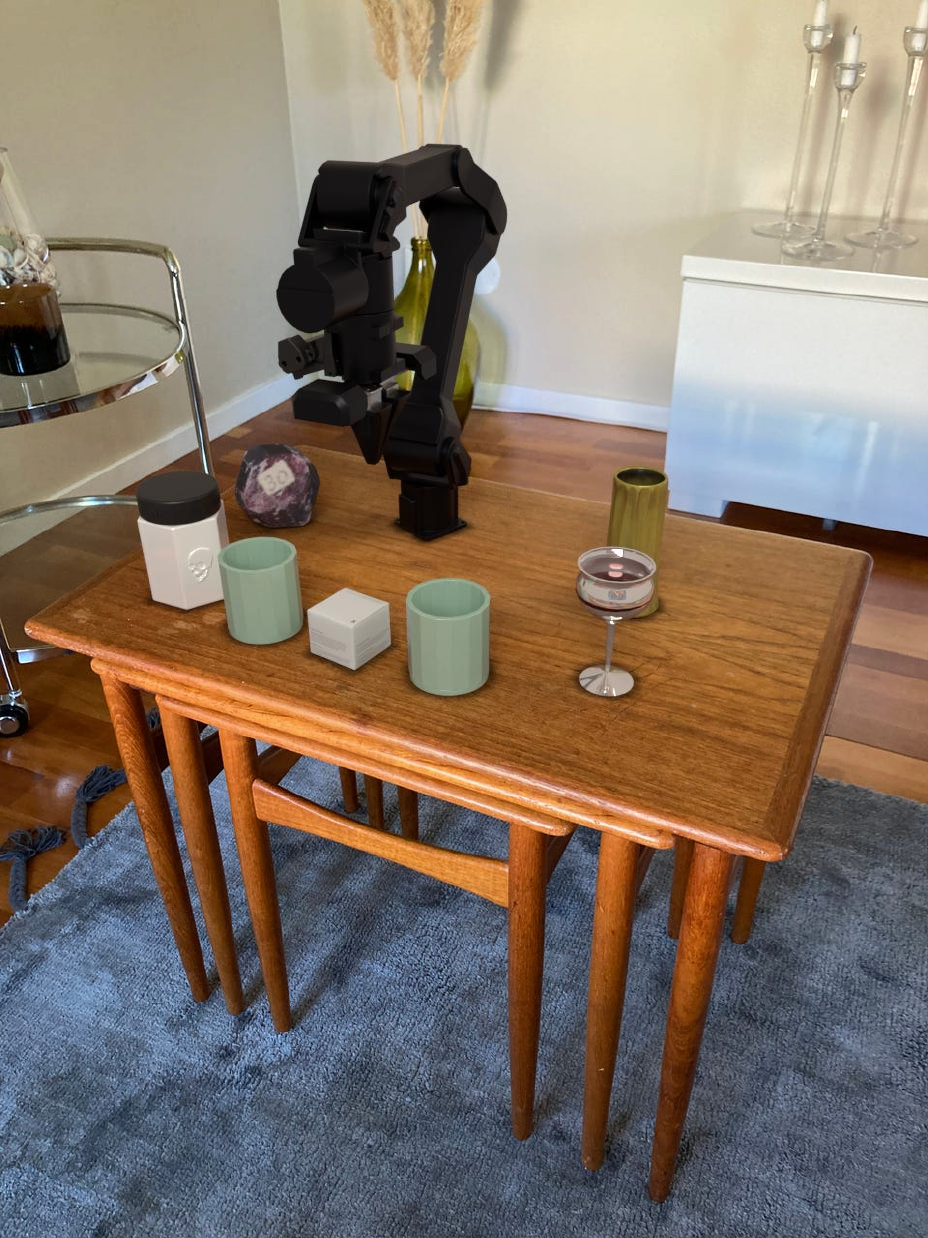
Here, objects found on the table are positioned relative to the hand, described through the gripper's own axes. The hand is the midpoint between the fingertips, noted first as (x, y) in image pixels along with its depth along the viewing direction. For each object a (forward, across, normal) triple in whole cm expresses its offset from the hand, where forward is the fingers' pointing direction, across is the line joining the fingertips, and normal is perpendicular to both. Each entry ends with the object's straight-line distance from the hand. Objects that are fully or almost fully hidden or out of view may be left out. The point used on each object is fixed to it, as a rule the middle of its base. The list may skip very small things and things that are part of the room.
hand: (372, 463), depth 99 cm
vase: (+13, -5, +27) cm, 30 cm away
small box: (+13, +14, +5) cm, 20 cm away
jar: (+13, +11, -16) cm, 24 cm away
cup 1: (+13, +14, -5) cm, 20 cm away
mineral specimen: (+13, -7, -18) cm, 23 cm away
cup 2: (+13, +14, +15) cm, 24 cm away
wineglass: (+13, +9, +29) cm, 33 cm away
